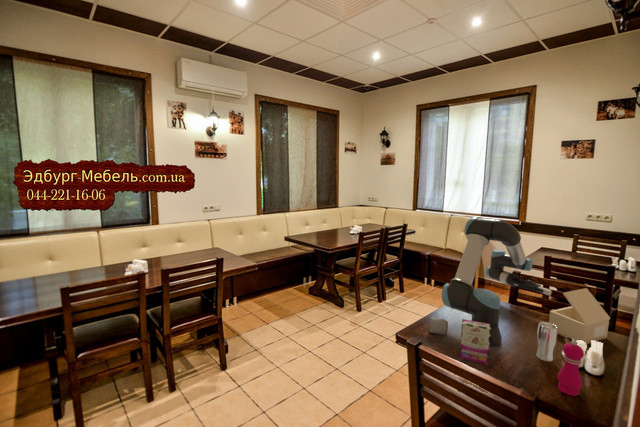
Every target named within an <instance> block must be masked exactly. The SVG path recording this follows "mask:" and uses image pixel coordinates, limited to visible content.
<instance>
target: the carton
mask: <svg viewBox="0 0 640 427" xmlns="http://www.w3.org/2000/svg"><path fill="white" fill-rule="evenodd" d="M548 323H551V324H554V325H555V326H557V335H560V336H562V337H564V336H567V337H568V338H570V339H572V338H573V339H574V340H583V341H584V342H586V343H587V344H586V345H589V344H591V343H590V341H591V340H597V341H596V342H599V340H600V341H604V340H606V338H608V332H609V331H608V330H609V324H610V319H608V320H604V321H600V322H597V323H593V324H589V325H585V323H584V322H583V320H582V319H581V318H580V316H579V315H578V314H577V312H576V311H575V309H574V308H573V307H572V305H571V306H567V307H563V308H557V309H553V310H550V311H549V316H548ZM568 338H567V339H568ZM570 339H569V340H570Z"/></svg>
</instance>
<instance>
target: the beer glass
mask: <svg viewBox="0 0 640 427" xmlns="http://www.w3.org/2000/svg"><path fill="white" fill-rule="evenodd" d="M536 338H537V339H536V340H537V350H536V354H535V356H536V357H537V358H538V359H539V360H542V361H544V362H548V363H549V362H553V361H554V356H553V354H554V348H555V347H556V344H557V339H558V334H557V326H555V325H554V324H551V323H549V321H547V322H546V321H539V322H538V326H537V332H536Z"/></svg>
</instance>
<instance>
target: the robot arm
mask: <svg viewBox="0 0 640 427" xmlns="http://www.w3.org/2000/svg"><path fill="white" fill-rule="evenodd" d="M464 235H465V237H466V240H467V241H466V244H465V247H464V250H463V253H462V256H461V259H460V261H459V265H458V267H457V271H456V272H455V276H454V278H452V279H450V281H449V283H448V282H447V283H445V284H444V285H443V286H442V289H441V300H442V303H443V305H444V306H445V307H447V308H450V309H452V310H457V311H459V312H463V313H466V314H468V315H471V319H470V321H476V322H482V323H487V324H490V328H491V333H490V347H498V346H500V345H501V344H502V340H503V339H502V333H501V331H500V328H499V324H500V313H501V298H500V296H499V295H498V294H497V293H495V292H493V291H492V290H489V289H487V288H486V289H485V288H477V287H476V288H474V286H473V282H474V278H475V276H476V272H477V270H478V266H479V264H480V260H481V258H482V255H483V252H484V249H485V246H487V245H489V243H490V241H493V242H494V241H495V242H500V243H501V244H503V245H504V246H505V248H506V251H507V253H508V254H506V251H505V250H501V249H493V250H492V251H491V255H490V266H488V267H486V270H485V273H484V274H485V276H486V277H487V278H489V279H492V280H494V281H497V282H500V283H502V284H504V285H508V286H510V287H514V288H520V289H523V290H527V291H530V292H534V293H540V294H544V295H546V296H548V297H549V296H551V295H552V290H550V289H548V288H546V287H545V288H544V287H542V285H541V284H538V283H536V282H534V281H532V280H531V279H527V280H526V279H524V278H521V277H520V276H519V274H515V273H512V272H510V271H507V270H504V268H511V269H515V270H520V271H526V272H530V271H532V268H533V259H531V258H528V257H526V254H525V252H524V248H523V246H522V243H521V240H522V237H521V234H520V232H519V230H518V229H517V228H516V227H515V226H514V225H512V224H511V223H509V222H507V221H505V220H503V219H498V218H488V217H487V218H485V217H475V216H472V217H471V218H469V219H468V220H467V222H466V223H465V225H464Z"/></svg>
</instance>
